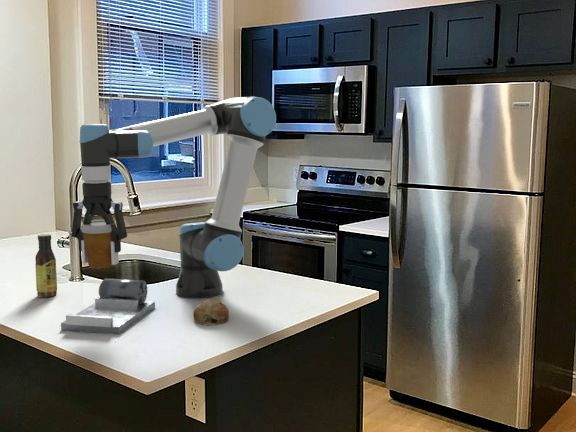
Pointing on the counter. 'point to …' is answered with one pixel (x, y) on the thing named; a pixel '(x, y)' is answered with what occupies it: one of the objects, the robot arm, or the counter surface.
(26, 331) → the counter surface
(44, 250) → the sauce bottle
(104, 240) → the disposable coffee cup
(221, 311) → the bread roll
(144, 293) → the block
